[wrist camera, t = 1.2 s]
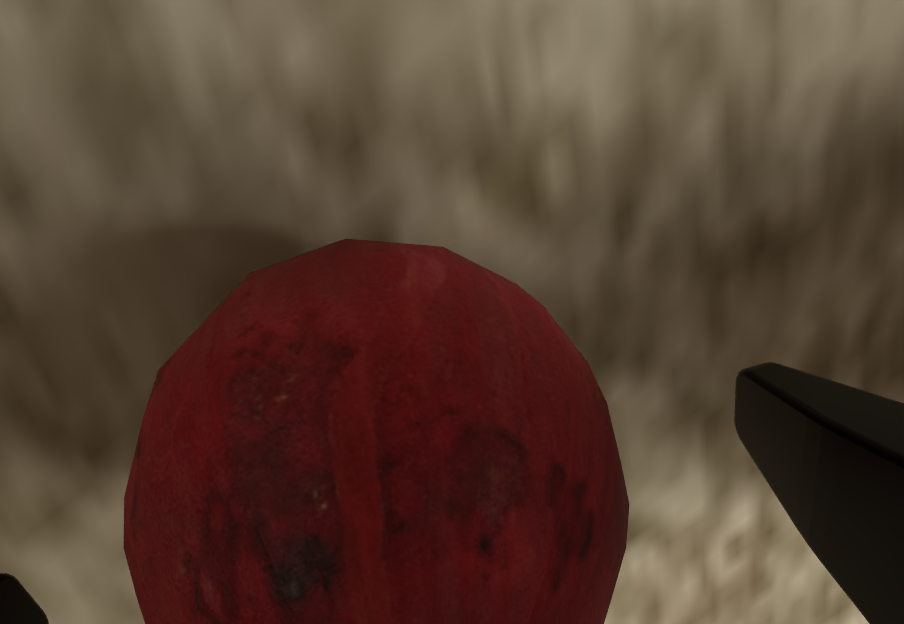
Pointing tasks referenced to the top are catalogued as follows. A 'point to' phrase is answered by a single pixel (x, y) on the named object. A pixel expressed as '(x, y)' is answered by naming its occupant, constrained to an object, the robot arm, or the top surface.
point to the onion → (376, 454)
